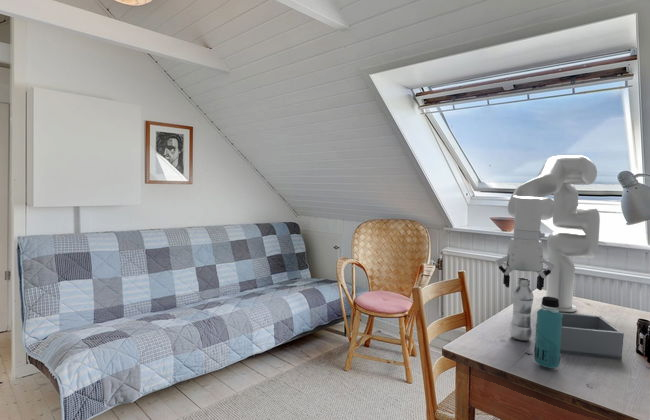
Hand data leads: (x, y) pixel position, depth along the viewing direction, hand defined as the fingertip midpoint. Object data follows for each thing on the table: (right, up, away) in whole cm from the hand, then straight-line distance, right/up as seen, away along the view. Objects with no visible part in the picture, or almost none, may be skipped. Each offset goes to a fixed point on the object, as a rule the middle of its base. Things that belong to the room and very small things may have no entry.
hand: (522, 287), depth 128 cm
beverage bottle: (-3, -19, -18) cm, 26 cm away
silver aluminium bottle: (0, -17, +2) cm, 17 cm away
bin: (+16, -18, -3) cm, 24 cm away
